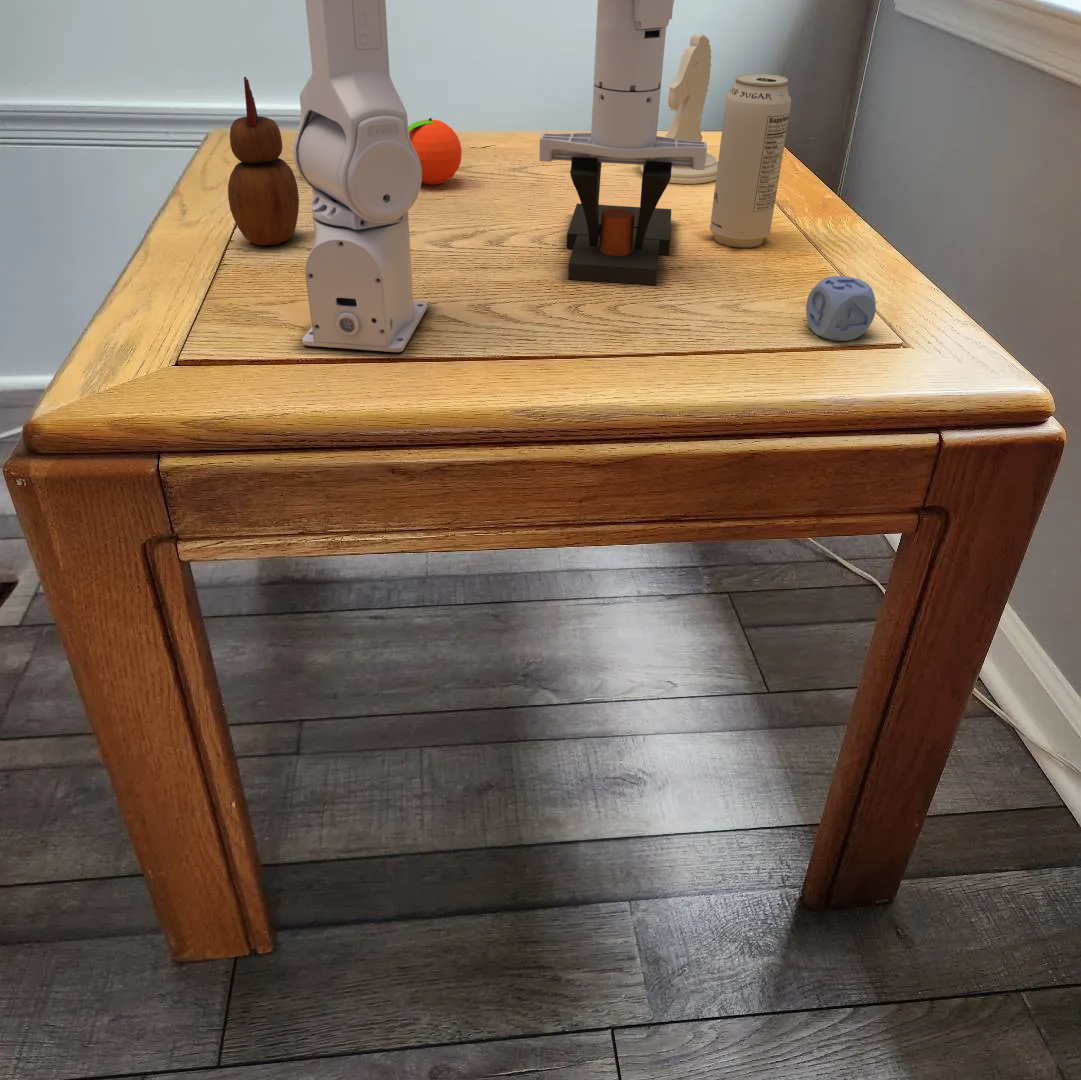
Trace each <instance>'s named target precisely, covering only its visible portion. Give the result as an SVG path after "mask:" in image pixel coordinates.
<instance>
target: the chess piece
mask: <svg viewBox="0 0 1081 1080" xmlns="http://www.w3.org/2000/svg"><path fill="white" fill-rule="evenodd" d="M711 67H712V49H711V45H710V38H708V36H706V35H705V34H700V33H694V34H692V35H691V36H690V41H689V45H687V46H686V47H685V49H684V50H683V53H682V55H681V59H680V62H679V66H678V69H677V73H676V76H675V78H674V79H673V82H672V83H671V85H670V86H669V91H668V92H669V93H668V98H667V99H668V100H667V105H668V108H669V111H673V112H675V113H674V116H673V118H672V120H671V122H670V125H669V127H668V131H667V132H666V134H665V137H666V138H673V139H680V140H688V141H698V142H703V135H702V128H701V126H702V116H703V111H704V106H705V103H706V99H707V93H708V90H709V85H710V78H711ZM717 160H718V159H717V157H716V156H714V155H712V154H710V153H708V152H707V153H706V161H705V169H704V170H693V169H692V168H690V167H672V169H671V179H670V181H669V183H670V184H671V183H672V184H679V185H680V184H681V185H682V184H683V185H693V184H694V185H695V184H697V185H698V184H705V183H711V182H713V181H716V175H717V167H718V161H717ZM643 168H644V165H640V173H641V174H642V175H643Z"/></svg>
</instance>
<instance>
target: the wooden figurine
mask: <svg viewBox="0 0 1081 1080" xmlns="http://www.w3.org/2000/svg"><path fill="white" fill-rule="evenodd" d="M243 85H244V99H245V111H246V116H241V117H239V118H236V119H234V121H232V124H231V125H230V131H229V143H230V149H231V152H232V154H233V156H234V157H235V158H236V159H237V160H238V161H239V162H238V163H237V164H235V166H234V168H233V169H232V171H231V173H230V175H229V179H228V184H227V199H228V206H229V210H230V213H231V215H232V217H233V220H234V222H235V224H236V226H237V228H238V230H239V232H240V233H241V234H242V237H243V238H245V240H247V241H248V242H250V243H252V244H254V245H258V246H259V245H260V246H265V247H267V246H275V245H280V244H282V243H285V242H287V241H289V240H290V239H292V236H293V235H294V234H295V233H296V232H295V231H296V227H297V225H298V224H297V223H298V217H299V211H300V210H299V209H300V207H299V206H300V195H299V187H298V184H297V180H296V179H297V178H296V176H295V174H294V171H293V170H292V167H290V165H289V164H288V163H287V162H286V161H285V160H284V159H282V158H280V156H281V154H282V153H283V140H282V133H281V129H280V128H279V125H278V123H277V122H276V121H275V120H274V119H272V118H269V117H267V116H261V115H258V110H257V106H256V102H255V98H254V96H253V92H252V89H251V87H250V82H249V79H248V78H247V76H243Z"/></svg>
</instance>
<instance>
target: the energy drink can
mask: <svg viewBox="0 0 1081 1080" xmlns="http://www.w3.org/2000/svg"><path fill="white" fill-rule="evenodd" d="M734 80H735V81H734V83H733V86H732V87H731V89H730V90H729V91H728V93H727V94H726V97H725V104H724V105H725V106H724V114H723V121H722V130H721V136H720V145H719V152H718V159H717V160H718V161H717V162H718V167H717V175H716V180H715V183H714V184H715V185H714V193H713V200H712V208H711V216H710V223H709V230H710V231H711V232H712V233H713V234H714V236H713V239H714V240H715V241H716V242H717V243H719V244H721V245H724V246H726V247H727V246H728V247H732V248H742V249H743V248H754V247H758V246H761V245H762V244H763V243H764V240H765V238H767V237H768V236H769V235H770V234H771V229H772V222H773V217H774V211H775V205H776V198H777V194H778V193H777V192H778V186H779V181H780V174H781V168H782V161H783V155H784V148H785V144H786V137H787V131H788V125H789V118H790V113H791V107H792V97H791V95H790V91H789V89H788V83H789V79H788V78H786V77H784V76H782V75H777V74H771V73H741V74H738V75H735V78H734Z"/></svg>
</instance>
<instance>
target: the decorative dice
mask: <svg viewBox="0 0 1081 1080" xmlns="http://www.w3.org/2000/svg"><path fill="white" fill-rule="evenodd" d="M876 303H877V302H876V295H875V293H874V291H873V289H872V287H871V286H870V285H869V283H868V282H866V281H864V280H862V279H860V278H857V277H852V276H846V275H845V276H843V275H833V276H827V277H825V278H822V279H821V280H820V281H818V282H817V283H816V284H815V285H814V287H813V288H812V289H811V291H810V292H809V293H808V297H807V299H806V304H805V305H806V306H805V307H806V308H805V315H806V320H807V324H808V326H809V329H810V330H811V331H812V332H813V333H814V334H815V335H816V336H818V337H820V338H823V339H826V340H829V341H834V342H835V341H836V342H848V341H853V340H856V339H857V338H859V337H860V336H862V335H863V334H865V332H866V331H867V330H868V329H869V328H870V326H871V325H872V323H873V321H874V319H875V315H876V309H877V304H876Z"/></svg>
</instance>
